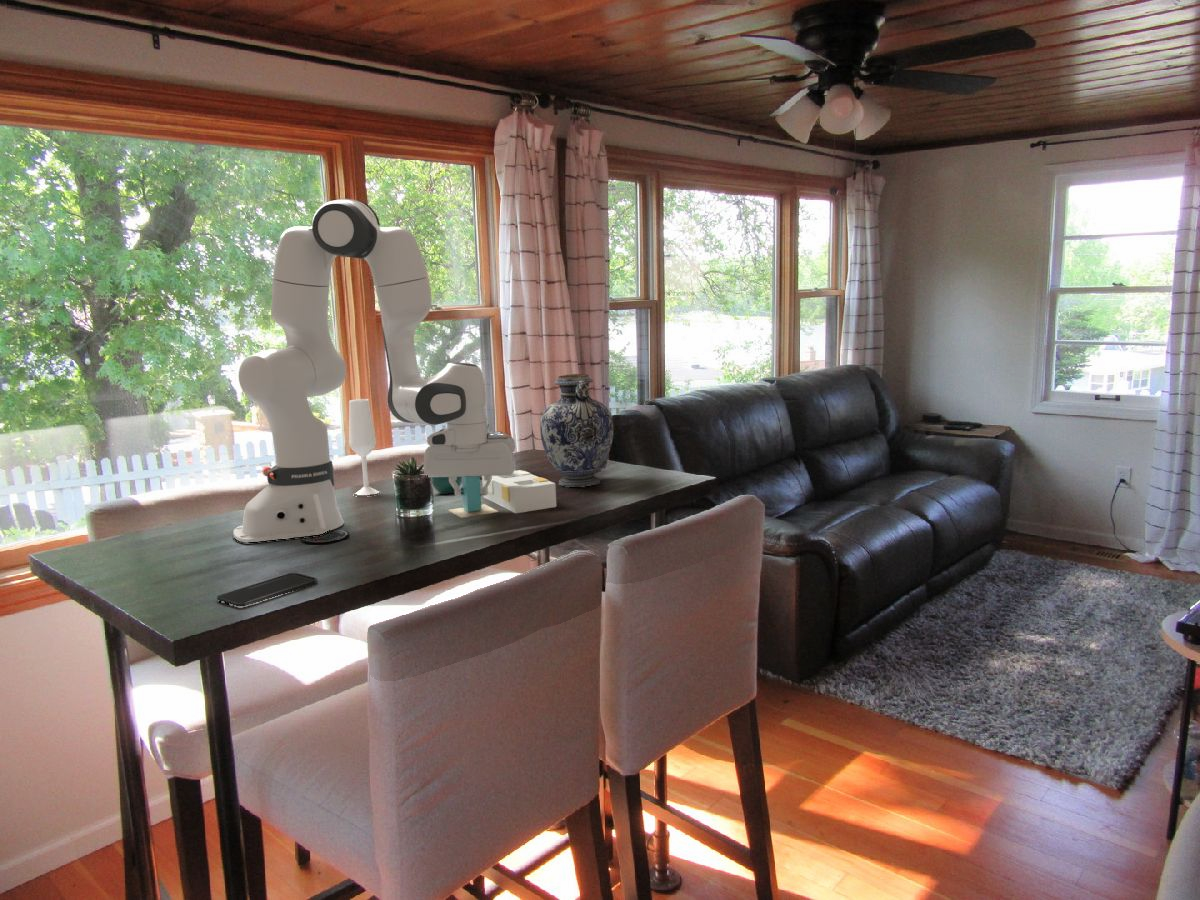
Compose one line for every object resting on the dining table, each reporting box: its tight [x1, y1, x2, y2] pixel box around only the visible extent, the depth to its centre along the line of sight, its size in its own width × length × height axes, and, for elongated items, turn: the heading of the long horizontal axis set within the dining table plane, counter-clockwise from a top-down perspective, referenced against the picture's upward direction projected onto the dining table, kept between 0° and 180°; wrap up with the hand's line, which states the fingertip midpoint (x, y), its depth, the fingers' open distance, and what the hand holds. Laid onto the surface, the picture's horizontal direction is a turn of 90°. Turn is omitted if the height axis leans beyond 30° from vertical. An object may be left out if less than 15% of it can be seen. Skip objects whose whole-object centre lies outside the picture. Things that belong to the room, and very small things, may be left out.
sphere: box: [431, 477, 462, 495], centre depth 218 cm, size 8×8×8 cm
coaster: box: [447, 503, 500, 519], centre depth 197 cm, size 9×9×1 cm
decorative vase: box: [539, 373, 614, 488], centre depth 222 cm, size 21×19×28 cm
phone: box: [216, 572, 319, 606], centre depth 147 cm, size 8×1×15 cm
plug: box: [461, 476, 482, 512], centre depth 196 cm, size 3×3×9 cm
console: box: [481, 469, 557, 514], centre depth 204 cm, size 10×20×6 cm, turn 28°
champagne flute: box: [348, 398, 380, 495], centre depth 220 cm, size 7×7×24 cm
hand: (471, 495), depth 196 cm, fingers closed on plug, 4 cm apart
